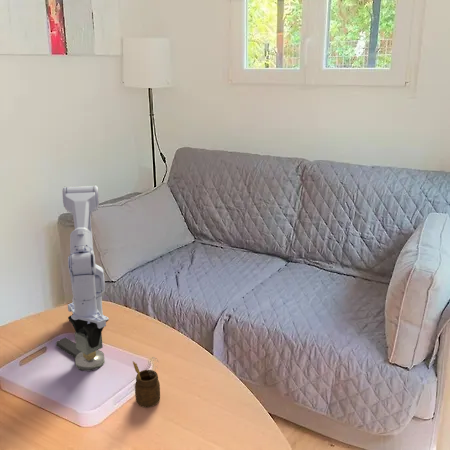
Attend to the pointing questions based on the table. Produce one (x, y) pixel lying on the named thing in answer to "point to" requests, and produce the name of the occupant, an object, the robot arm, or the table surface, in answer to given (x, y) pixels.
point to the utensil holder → (147, 387)
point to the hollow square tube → (85, 342)
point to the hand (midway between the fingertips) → (88, 342)
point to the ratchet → (82, 355)
